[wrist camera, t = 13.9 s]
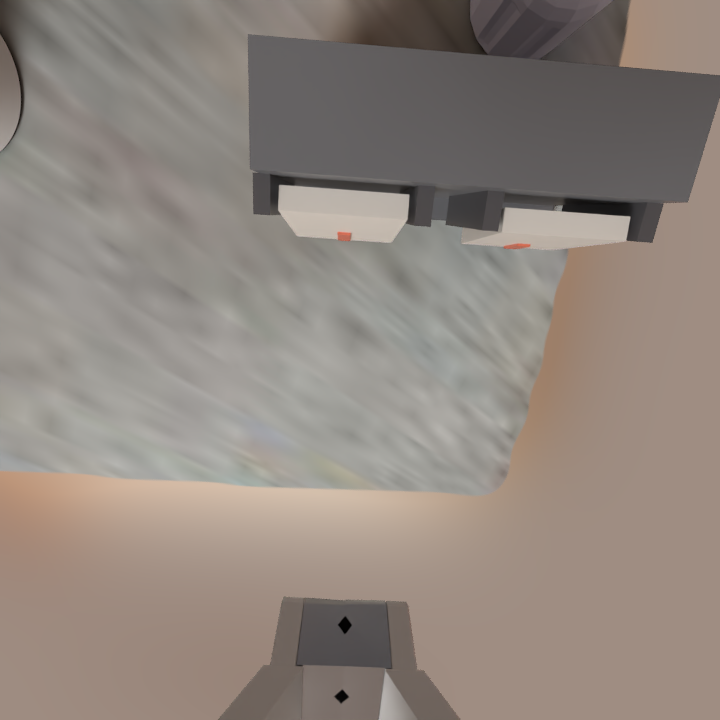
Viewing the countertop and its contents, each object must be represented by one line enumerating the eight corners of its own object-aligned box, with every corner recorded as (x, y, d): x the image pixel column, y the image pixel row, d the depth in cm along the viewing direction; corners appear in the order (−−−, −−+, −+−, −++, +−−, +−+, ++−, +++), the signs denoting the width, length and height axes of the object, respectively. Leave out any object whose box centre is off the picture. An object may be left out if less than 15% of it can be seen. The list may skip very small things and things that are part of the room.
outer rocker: (460, 246, 36) (501, 235, 27) (463, 225, 36) (505, 207, 26) (552, 252, 37) (625, 244, 27) (555, 232, 36) (630, 216, 27)
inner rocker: (297, 238, 36) (277, 213, 26) (298, 217, 36) (279, 184, 26) (391, 245, 36) (407, 222, 26) (392, 224, 36) (409, 194, 26)
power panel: (286, 212, 42) (232, 213, 23) (288, 92, 39) (225, -19, 20) (543, 230, 43) (691, 246, 24) (566, 116, 40) (760, 30, 21)
